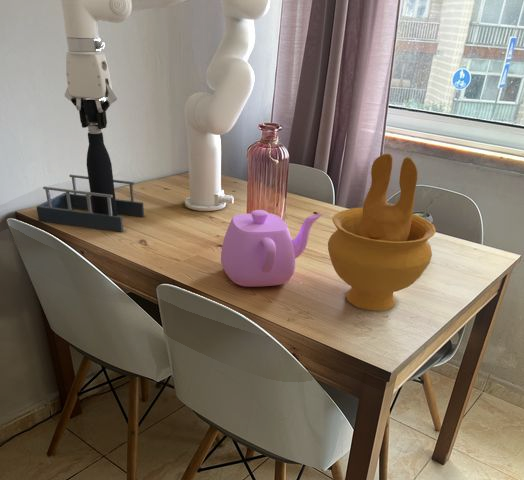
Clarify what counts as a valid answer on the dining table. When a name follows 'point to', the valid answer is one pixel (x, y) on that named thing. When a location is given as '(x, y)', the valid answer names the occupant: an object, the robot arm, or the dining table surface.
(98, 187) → the dark blue bottle
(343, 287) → the dining table surface
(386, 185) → the decorative bowl
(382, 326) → the dining table surface
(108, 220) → the dish rack
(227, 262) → the teapot
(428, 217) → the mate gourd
